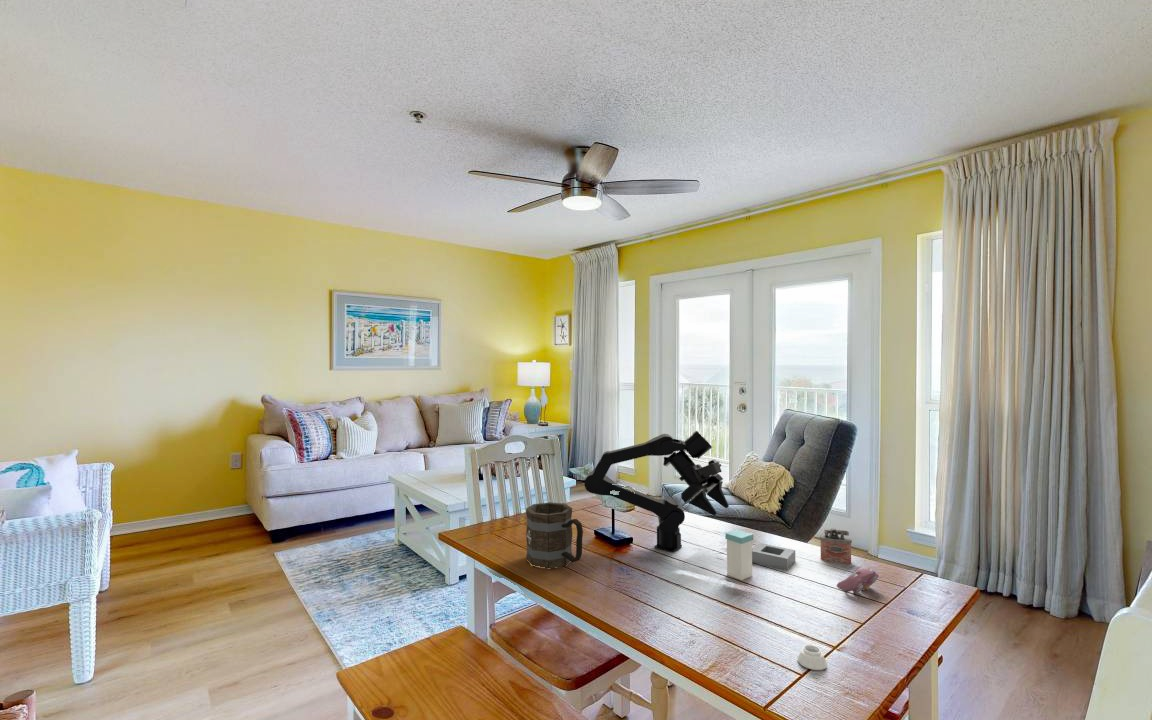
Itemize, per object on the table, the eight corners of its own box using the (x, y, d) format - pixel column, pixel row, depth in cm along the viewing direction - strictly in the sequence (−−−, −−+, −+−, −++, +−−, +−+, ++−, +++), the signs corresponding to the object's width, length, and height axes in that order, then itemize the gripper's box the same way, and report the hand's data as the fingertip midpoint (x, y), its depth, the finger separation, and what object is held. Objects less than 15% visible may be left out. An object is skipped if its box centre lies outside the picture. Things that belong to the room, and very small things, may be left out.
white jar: (829, 674, 96) (823, 658, 101) (829, 657, 96) (823, 643, 101) (800, 670, 97) (795, 655, 102) (800, 654, 97) (795, 640, 102)
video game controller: (848, 603, 127) (861, 582, 124) (833, 588, 130) (845, 567, 127) (873, 594, 131) (885, 573, 129) (857, 580, 135) (869, 559, 132)
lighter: (820, 564, 146) (820, 529, 146) (819, 560, 150) (819, 525, 150) (852, 568, 143) (852, 532, 143) (851, 564, 147) (850, 528, 147)
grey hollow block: (750, 563, 146) (750, 550, 146) (759, 554, 152) (759, 542, 152) (787, 571, 140) (787, 558, 140) (795, 562, 146) (795, 550, 146)
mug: (516, 560, 151) (515, 508, 151) (550, 548, 160) (550, 499, 160) (564, 580, 137) (563, 523, 137) (598, 565, 147) (597, 512, 147)
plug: (725, 578, 137) (725, 533, 137) (737, 573, 140) (737, 529, 140) (741, 585, 133) (741, 538, 133) (753, 580, 136) (753, 534, 136)
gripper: (690, 456, 148) (728, 501, 141) (716, 447, 163) (752, 487, 156) (666, 480, 153) (701, 525, 146) (693, 469, 168) (726, 509, 161)
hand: (721, 510), depth 152 cm, fingers open, 9 cm apart
